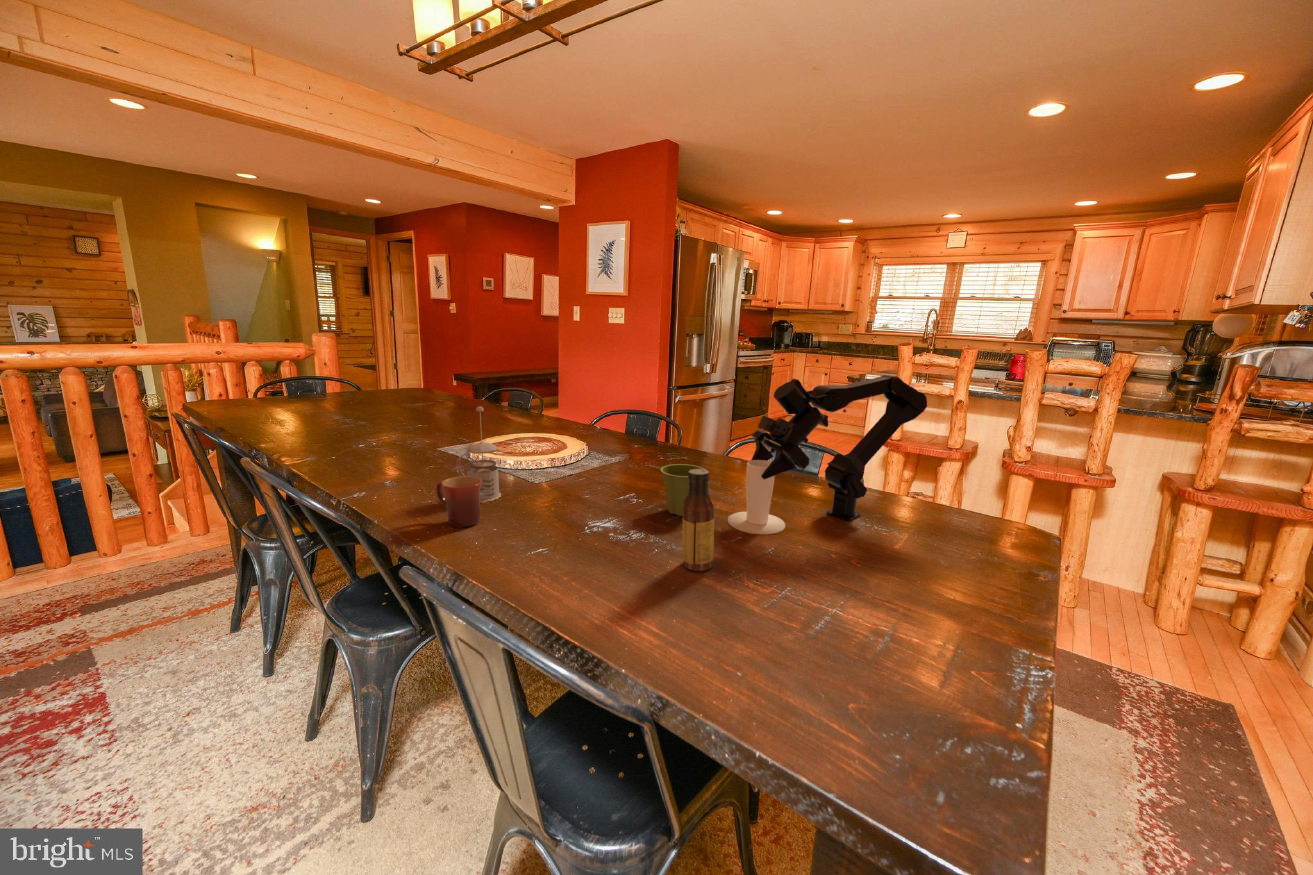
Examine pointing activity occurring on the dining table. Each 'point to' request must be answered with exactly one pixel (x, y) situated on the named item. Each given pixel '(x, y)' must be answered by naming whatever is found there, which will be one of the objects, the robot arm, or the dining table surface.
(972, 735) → the dining table surface
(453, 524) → the mug
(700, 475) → the sauce bottle
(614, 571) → the dining table surface
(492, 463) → the french press
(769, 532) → the cream flat disc
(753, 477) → the drinking glass
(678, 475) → the plant pot
